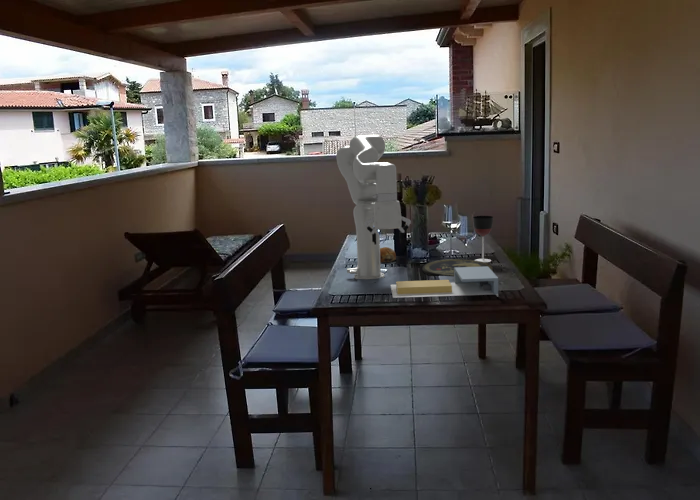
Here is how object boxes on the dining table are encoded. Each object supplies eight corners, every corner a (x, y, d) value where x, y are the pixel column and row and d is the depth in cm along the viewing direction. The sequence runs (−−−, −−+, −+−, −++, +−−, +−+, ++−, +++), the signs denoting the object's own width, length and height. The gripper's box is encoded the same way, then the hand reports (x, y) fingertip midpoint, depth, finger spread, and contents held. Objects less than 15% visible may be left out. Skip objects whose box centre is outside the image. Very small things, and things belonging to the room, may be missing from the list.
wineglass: (493, 262, 272) (493, 218, 268) (473, 262, 273) (473, 218, 269) (492, 258, 279) (492, 215, 275) (472, 258, 281) (473, 215, 277)
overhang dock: (393, 300, 220) (392, 281, 219) (390, 287, 238) (390, 269, 237) (498, 296, 220) (498, 278, 218) (487, 283, 237) (488, 266, 236)
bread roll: (397, 266, 288) (397, 249, 289) (393, 261, 278) (394, 244, 280) (376, 266, 290) (377, 249, 292) (372, 261, 280) (373, 244, 282)
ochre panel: (397, 294, 225) (397, 287, 224) (396, 287, 233) (396, 281, 233) (451, 292, 224) (451, 285, 224) (448, 285, 233) (448, 279, 232)
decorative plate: (419, 274, 249) (425, 258, 278) (419, 279, 250) (425, 262, 278) (494, 276, 243) (492, 259, 272) (494, 280, 244) (492, 263, 272)
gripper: (363, 199, 220) (365, 246, 223) (411, 197, 219) (412, 244, 222) (363, 197, 227) (364, 242, 230) (409, 195, 227) (410, 240, 230)
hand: (388, 243), depth 226 cm, fingers open, 9 cm apart
